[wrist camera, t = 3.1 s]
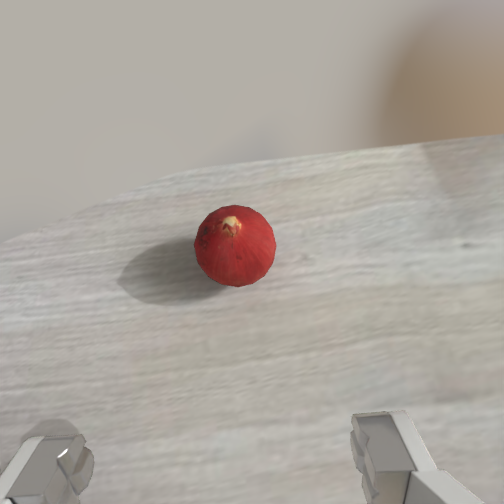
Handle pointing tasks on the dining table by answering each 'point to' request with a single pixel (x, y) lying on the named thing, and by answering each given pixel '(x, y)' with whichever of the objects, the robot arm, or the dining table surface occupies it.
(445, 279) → the dining table surface
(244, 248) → the red pomegranate
